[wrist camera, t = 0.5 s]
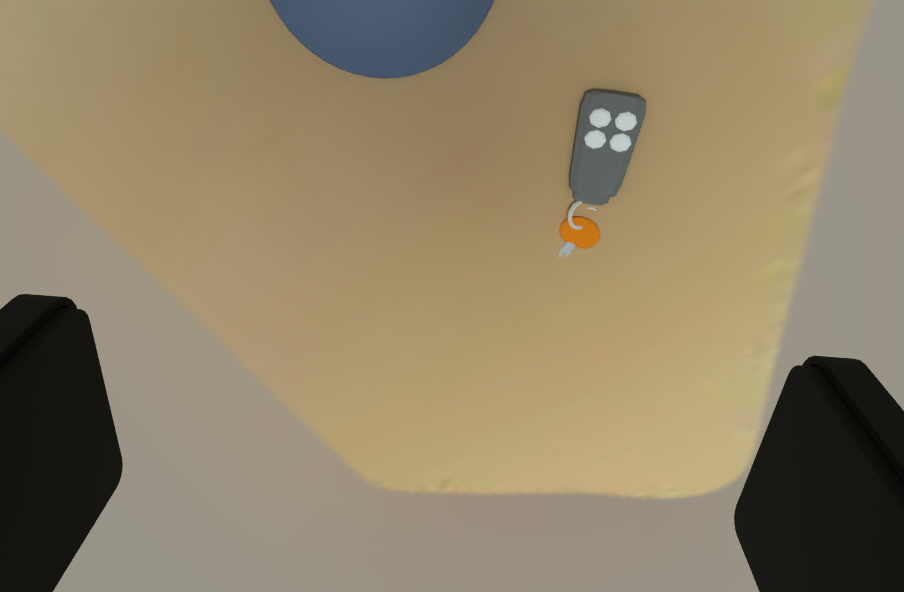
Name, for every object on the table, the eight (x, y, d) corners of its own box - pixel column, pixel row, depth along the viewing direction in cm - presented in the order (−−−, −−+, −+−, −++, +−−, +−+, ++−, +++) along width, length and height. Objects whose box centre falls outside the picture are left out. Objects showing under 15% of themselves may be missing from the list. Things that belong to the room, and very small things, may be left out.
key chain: (577, 83, 36) (581, 90, 35) (646, 92, 37) (652, 99, 35) (532, 292, 43) (534, 304, 42) (591, 299, 43) (594, 312, 42)
